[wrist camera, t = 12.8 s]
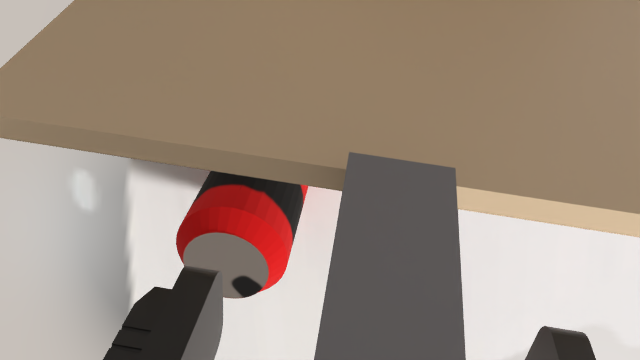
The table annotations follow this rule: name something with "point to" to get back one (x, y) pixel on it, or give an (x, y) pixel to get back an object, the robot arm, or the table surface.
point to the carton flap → (361, 126)
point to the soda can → (242, 230)
